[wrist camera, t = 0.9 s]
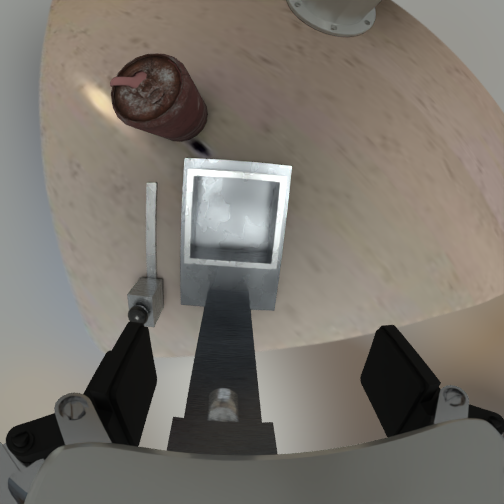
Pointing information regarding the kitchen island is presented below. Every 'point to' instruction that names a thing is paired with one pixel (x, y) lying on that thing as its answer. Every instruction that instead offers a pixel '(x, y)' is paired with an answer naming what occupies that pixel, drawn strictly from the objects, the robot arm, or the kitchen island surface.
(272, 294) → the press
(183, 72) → the red can
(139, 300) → the lever
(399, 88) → the kitchen island surface
